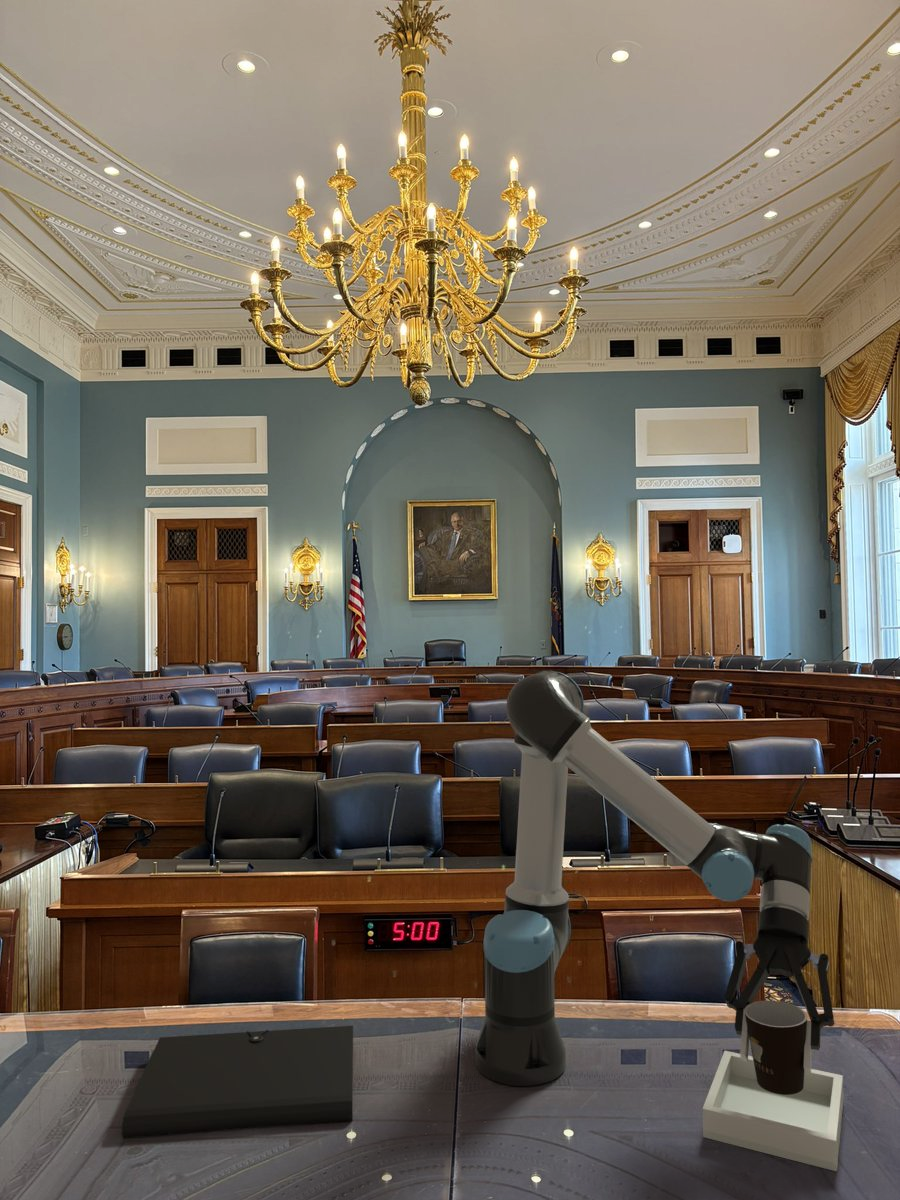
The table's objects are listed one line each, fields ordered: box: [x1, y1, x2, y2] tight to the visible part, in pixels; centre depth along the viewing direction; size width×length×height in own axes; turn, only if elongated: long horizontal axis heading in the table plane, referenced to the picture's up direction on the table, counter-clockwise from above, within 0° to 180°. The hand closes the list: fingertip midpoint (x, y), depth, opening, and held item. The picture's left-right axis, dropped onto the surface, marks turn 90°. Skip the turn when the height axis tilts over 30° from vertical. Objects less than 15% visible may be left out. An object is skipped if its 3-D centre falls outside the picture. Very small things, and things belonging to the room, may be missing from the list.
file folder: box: [121, 1025, 354, 1139], centre depth 136 cm, size 33×4×24 cm
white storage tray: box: [702, 1050, 844, 1172], centre depth 126 cm, size 17×18×4 cm
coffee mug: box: [744, 999, 808, 1095], centre depth 126 cm, size 12×9×10 cm
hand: (775, 1064), depth 123 cm, fingers closed on coffee mug, 8 cm apart
